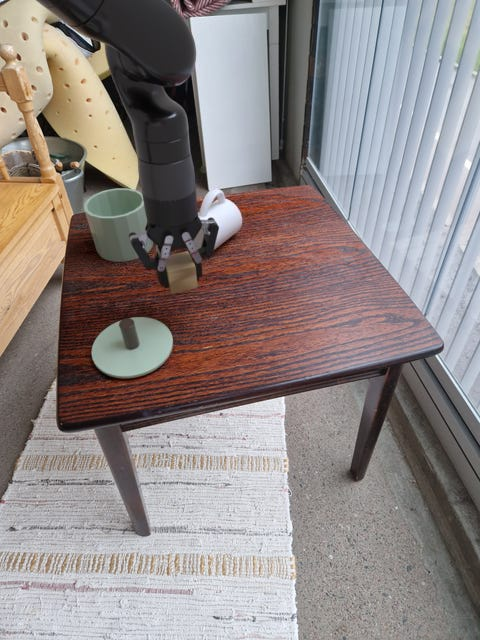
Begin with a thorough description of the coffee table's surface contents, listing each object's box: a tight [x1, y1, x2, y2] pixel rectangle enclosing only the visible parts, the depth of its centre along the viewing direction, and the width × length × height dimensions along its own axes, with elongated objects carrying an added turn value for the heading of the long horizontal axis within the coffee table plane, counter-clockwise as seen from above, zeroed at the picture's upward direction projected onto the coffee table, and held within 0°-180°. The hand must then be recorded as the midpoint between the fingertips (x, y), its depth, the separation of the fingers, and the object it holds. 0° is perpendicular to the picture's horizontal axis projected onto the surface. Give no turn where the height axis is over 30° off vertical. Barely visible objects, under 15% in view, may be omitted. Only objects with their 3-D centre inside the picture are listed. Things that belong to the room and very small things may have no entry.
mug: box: [193, 188, 243, 251], centre depth 90 cm, size 8×10×12 cm
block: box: [165, 250, 198, 295], centre depth 69 cm, size 4×4×4 cm
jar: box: [83, 187, 154, 263], centre depth 90 cm, size 12×12×10 cm
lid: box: [91, 316, 174, 379], centre depth 69 cm, size 13×13×6 cm
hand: (181, 281), depth 70 cm, fingers closed on block, 4 cm apart
